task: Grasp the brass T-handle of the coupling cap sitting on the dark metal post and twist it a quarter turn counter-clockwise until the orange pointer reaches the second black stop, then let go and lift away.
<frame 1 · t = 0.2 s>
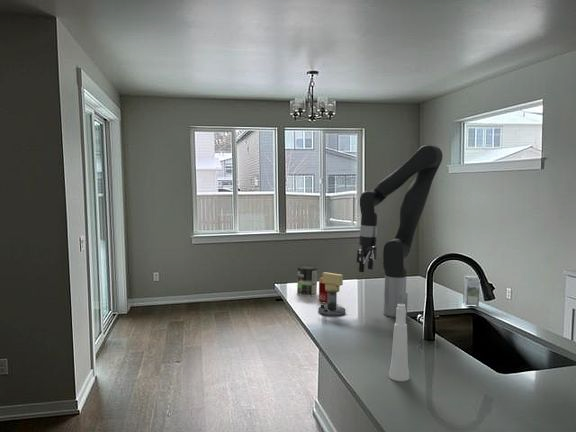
hand: (366, 270, 210), 18 cm above the worktop, tool pointing down, fingers open, 8 cm apart
coupling: (330, 282, 205), point 14 cm above the worktop, hinge at 0.0°
canned food: (327, 301, 225), on the worktop
post: (331, 312, 206), on the worktop
cosmetic bottle: (398, 377, 138), on the worktop
coffee can: (307, 294, 240), on the worktop
syrup box: (470, 306, 220), on the worktop
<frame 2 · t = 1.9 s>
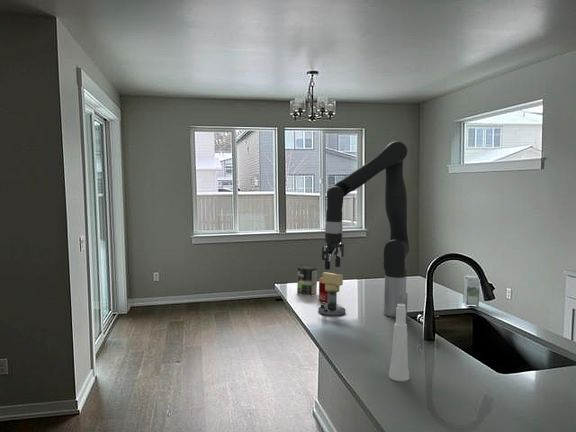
hand: (332, 268, 205), 20 cm above the worktop, tool pointing down, fingers open, 8 cm apart
nothing on the worktop moved.
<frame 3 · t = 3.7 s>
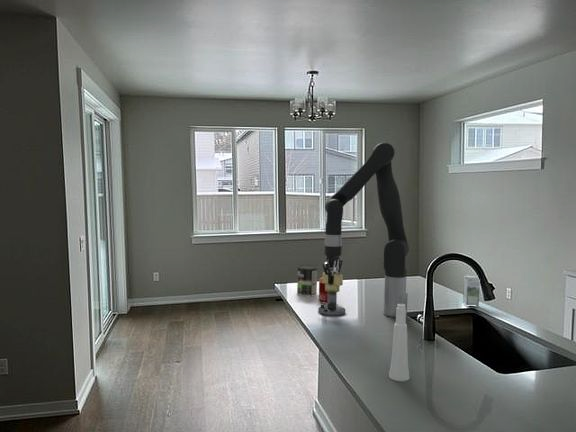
hand: (332, 283, 205), 13 cm above the worktop, tool pointing down, fingers closed on coupling, 2 cm apart
coupling: (330, 282, 205), point 14 cm above the worktop, hinge at 0.0°, touching gripper
everything else where it was.
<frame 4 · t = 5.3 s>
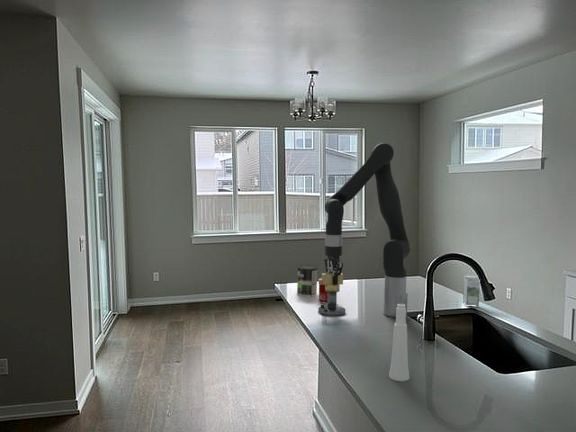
hand: (333, 283, 205), 13 cm above the worktop, tool pointing down, fingers closed on coupling, 3 cm apart
coupling: (330, 282, 205), point 14 cm above the worktop, hinge at 43.3°, touching gripper
everything else where it was.
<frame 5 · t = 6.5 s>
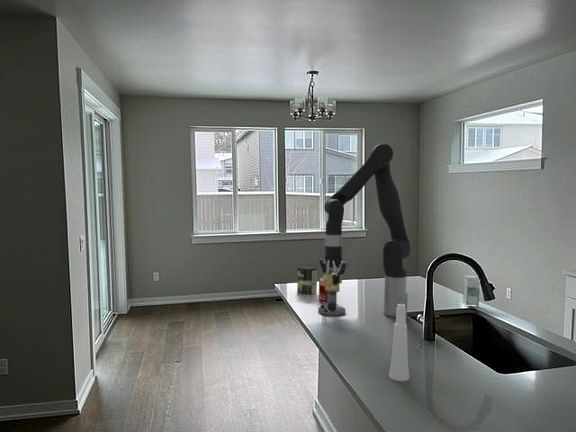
hand: (333, 283, 205), 13 cm above the worktop, tool pointing down, fingers closed on coupling, 3 cm apart
coupling: (331, 282, 205), point 14 cm above the worktop, hinge at 73.0°, touching gripper
everything else where it was.
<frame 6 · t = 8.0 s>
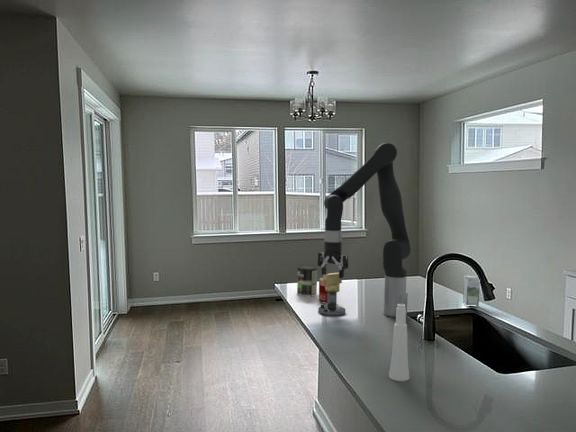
hand: (332, 277, 204), 16 cm above the worktop, tool pointing down, fingers open, 8 cm apart
coupling: (331, 282, 205), point 14 cm above the worktop, hinge at 73.8°
everything else where it was.
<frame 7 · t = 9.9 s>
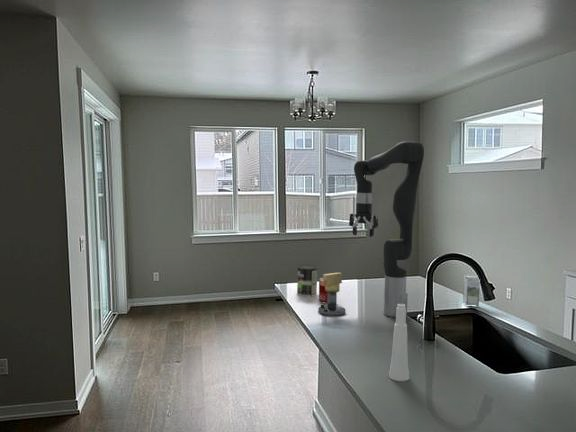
hand: (363, 235, 224), 32 cm above the worktop, tool pointing down, fingers open, 8 cm apart
nothing on the worktop moved.
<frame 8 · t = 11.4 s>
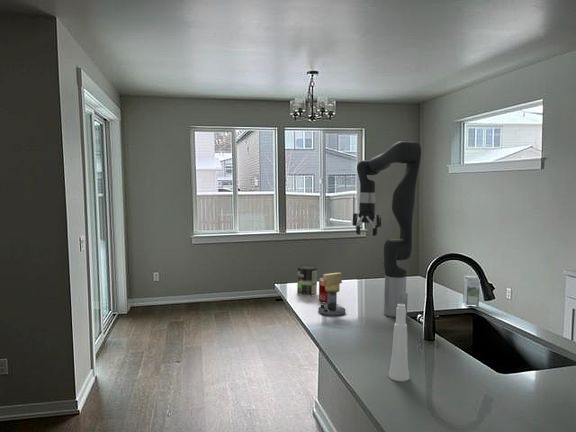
hand: (366, 235, 226), 32 cm above the worktop, tool pointing down, fingers open, 8 cm apart
nothing on the worktop moved.
at the end: coupling at +74° (first picture: +0°); the gripper is holding nothing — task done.
